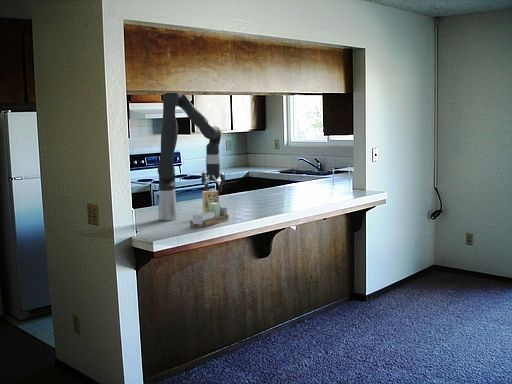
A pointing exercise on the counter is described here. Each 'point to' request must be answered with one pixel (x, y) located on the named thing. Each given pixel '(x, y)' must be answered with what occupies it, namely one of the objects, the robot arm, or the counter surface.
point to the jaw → (203, 217)
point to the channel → (223, 217)
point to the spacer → (215, 209)
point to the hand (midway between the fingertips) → (213, 191)
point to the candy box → (209, 198)
